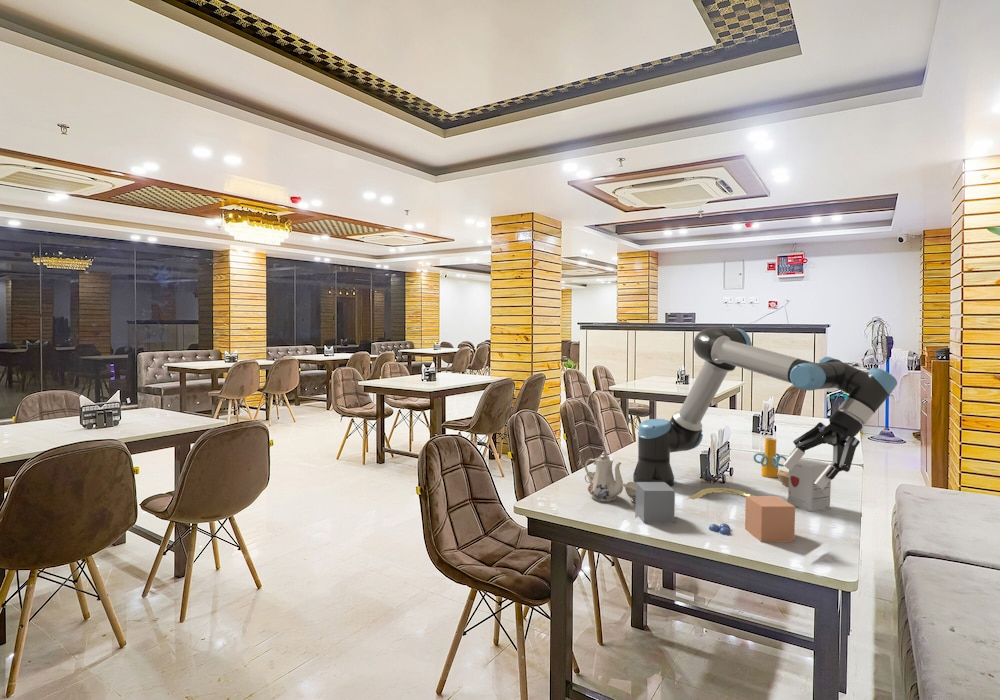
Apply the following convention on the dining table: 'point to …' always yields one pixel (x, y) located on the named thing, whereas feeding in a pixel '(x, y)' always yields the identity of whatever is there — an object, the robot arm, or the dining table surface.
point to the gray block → (655, 502)
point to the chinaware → (607, 480)
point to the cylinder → (769, 459)
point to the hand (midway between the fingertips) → (801, 476)
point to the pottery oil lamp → (784, 477)
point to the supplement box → (808, 486)
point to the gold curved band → (718, 491)
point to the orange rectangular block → (770, 518)
